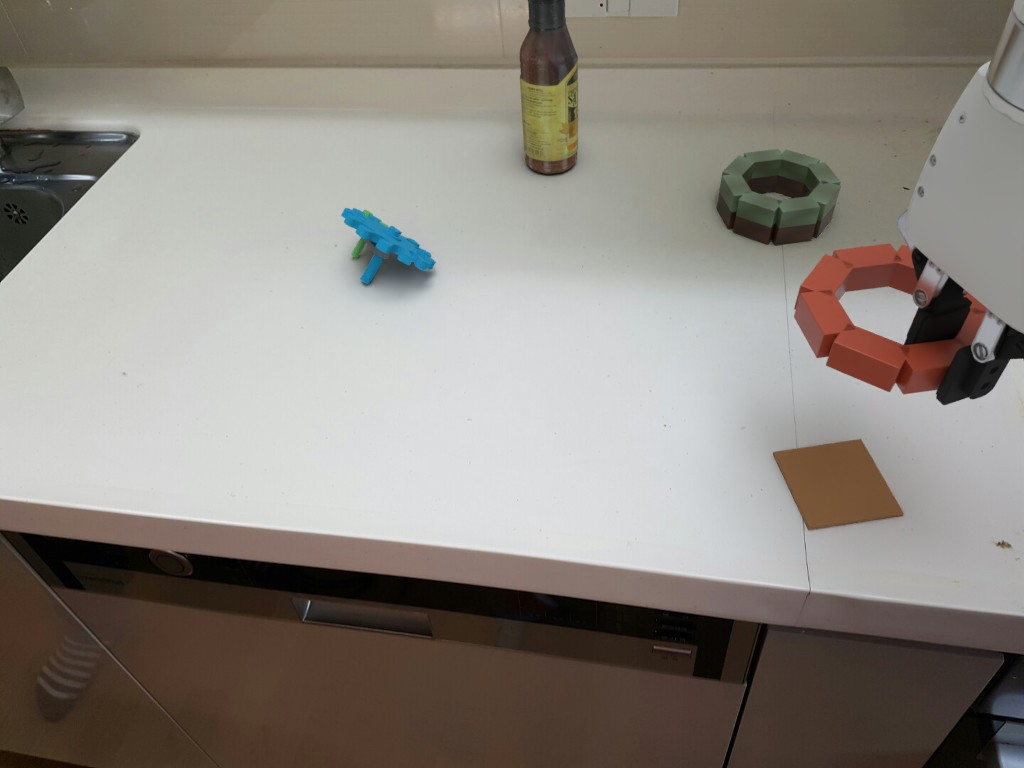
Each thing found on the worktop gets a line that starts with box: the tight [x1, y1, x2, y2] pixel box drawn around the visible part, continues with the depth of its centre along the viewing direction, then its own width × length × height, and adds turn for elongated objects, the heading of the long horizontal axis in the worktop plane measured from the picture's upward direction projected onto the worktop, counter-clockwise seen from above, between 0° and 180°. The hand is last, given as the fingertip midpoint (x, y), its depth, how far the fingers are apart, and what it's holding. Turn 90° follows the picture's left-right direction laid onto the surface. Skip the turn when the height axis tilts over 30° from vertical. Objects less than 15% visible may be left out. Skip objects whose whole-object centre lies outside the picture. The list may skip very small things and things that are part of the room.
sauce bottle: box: [519, 0, 579, 175], centre depth 84 cm, size 7×6×20 cm
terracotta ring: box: [793, 243, 988, 395], centre depth 48 cm, size 11×11×2 cm
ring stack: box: [716, 148, 842, 246], centre depth 81 cm, size 11×11×4 cm
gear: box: [340, 207, 437, 285], centre depth 77 cm, size 11×6×10 cm
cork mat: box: [772, 438, 905, 531], centre depth 58 cm, size 7×7×1 cm
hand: (941, 374), depth 45 cm, fingers closed on terracotta ring, 2 cm apart
